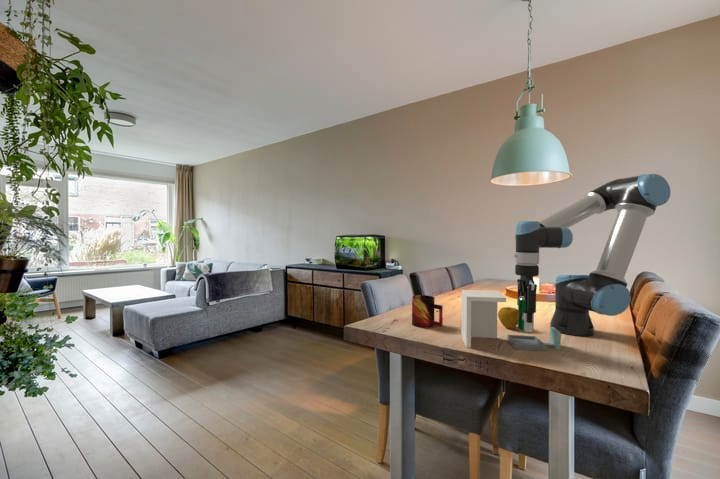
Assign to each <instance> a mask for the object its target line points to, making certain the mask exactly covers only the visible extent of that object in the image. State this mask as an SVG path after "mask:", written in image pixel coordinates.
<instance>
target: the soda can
mask: <svg viewBox="0 0 720 479" xmlns="http://www.w3.org/2000/svg"><path fill="white" fill-rule="evenodd" d="M517 310H518V324H517V328H518V330H520V331H523V332H525V331H524V313H523V311H525V297H524V295H520V297H519V298H518V305H517ZM534 318H535V313H534V314H533V328H534V327H535V326H534V323H535V322H534V320H535V319H534Z"/></svg>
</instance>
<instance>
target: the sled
mask: <svg viewBox="0 0 720 479" xmlns="http://www.w3.org/2000/svg"><path fill="white" fill-rule="evenodd" d="M561 334H562V333H561V332H560V331H558V330H557V329H555V328H554V327H550V326H549V342H543V341H542V340H541V339H540V338H538V337H537V336H536V335H525V334H524V335H522V334H507V341H508V342H509V343H510V344H511V346H512V347H513V348H514V350H522V351H523V350H524V351H525V350H526V351H540V352H541V351H542V352H546V351H547V348H555V349H556V350H561V343H562V342H561V340H562V338H561V337H562V336H561Z"/></svg>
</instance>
